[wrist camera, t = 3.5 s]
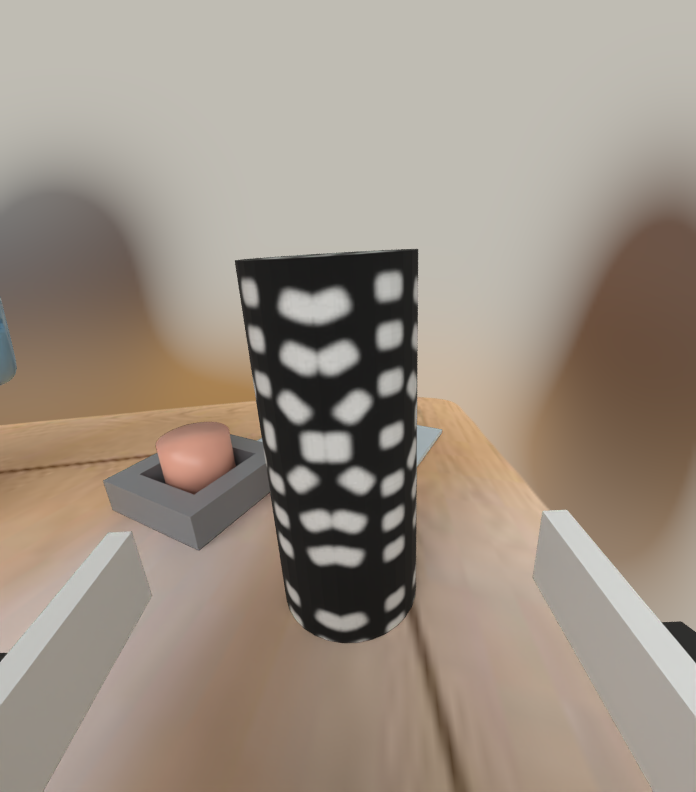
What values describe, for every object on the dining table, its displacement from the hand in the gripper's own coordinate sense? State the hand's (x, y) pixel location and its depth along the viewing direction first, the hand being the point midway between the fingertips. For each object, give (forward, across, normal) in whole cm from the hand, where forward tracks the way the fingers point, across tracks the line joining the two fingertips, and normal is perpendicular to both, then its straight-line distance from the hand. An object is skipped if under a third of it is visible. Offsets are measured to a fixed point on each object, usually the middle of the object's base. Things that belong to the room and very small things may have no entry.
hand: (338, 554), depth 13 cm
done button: (+20, -13, -10) cm, 26 cm away
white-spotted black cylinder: (+9, 0, -11) cm, 14 cm away
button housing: (+20, -13, -11) cm, 27 cm away
